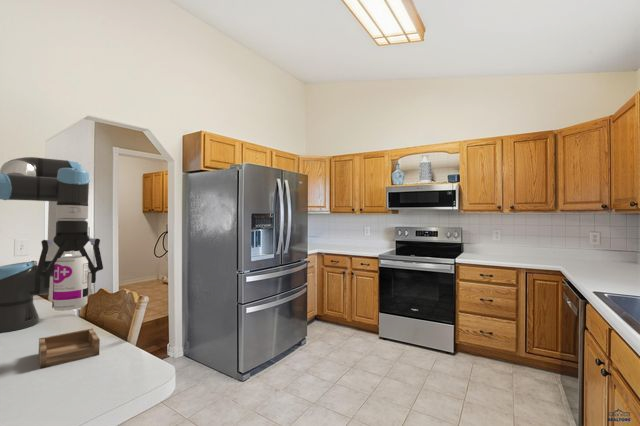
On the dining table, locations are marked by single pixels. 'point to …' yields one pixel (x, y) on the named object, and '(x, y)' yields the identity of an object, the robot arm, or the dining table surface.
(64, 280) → the supplement can
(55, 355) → the walnut caddy
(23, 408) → the dining table surface
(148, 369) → the dining table surface
